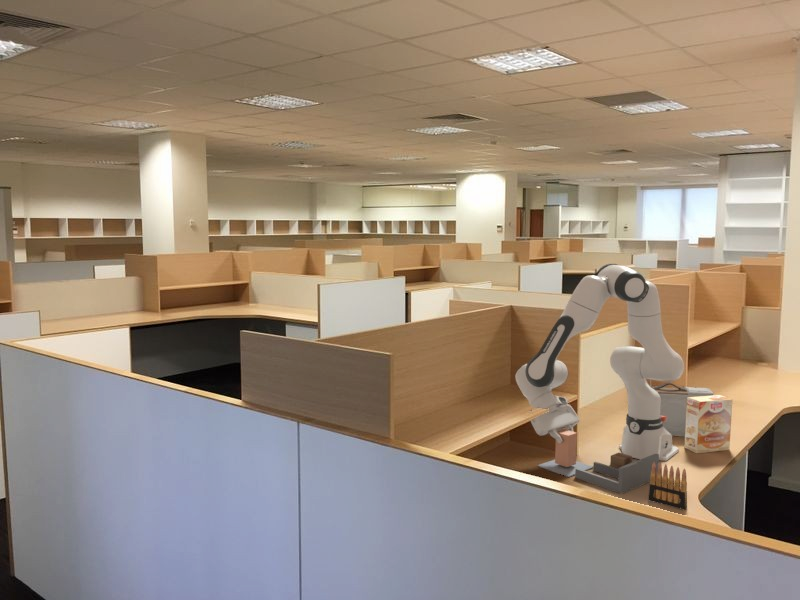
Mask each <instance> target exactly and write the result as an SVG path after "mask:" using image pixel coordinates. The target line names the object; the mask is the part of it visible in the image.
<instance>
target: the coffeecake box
mask: <svg viewBox="0 0 800 600" xmlns="http://www.w3.org/2000/svg"><path fill="white" fill-rule="evenodd" d="M732 412H733V398H730V397H728V396H724V395H722V394H713V395H712V396H699V397H687V411H686V429H685V436H684V448H685V449H687V450H689V451H691V452H692V453H695V454H703V453H711V452H712V453H713V452H714V453H715V452H719V451H720V452H721V451H730V450H731V449H730V446H731V431H732V414H733V413H732Z"/></svg>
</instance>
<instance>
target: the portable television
mask: <svg viewBox="0 0 800 600" xmlns="http://www.w3.org/2000/svg"><path fill="white" fill-rule="evenodd" d="M649 380H650V381H649V383H650V384H649V386H650V387H651V388H653V389H654V390H655V391H657V392H658V394H659V395H660V397H661V410H660V416H661V415H662V416H666V418H667V419H666V421H665V422H664V421H662V424H663V427H664V428H665V429H666V430H667V431H668V432H669V433H670V434H671V435H672V437H674V436H675V437H685V429H686V411H687V397H699V396H712V395H714V392H713V391H712V390H711V389H710V388H709V387H696V386H693V387H692V386H691V387H690V386H684V385H682V387H681V386H678V385H676V384H674V383H673V382H671V381H666V382H665V383H663V384H661V385H657V386H656V385H655V386H652V380H651V379H649ZM667 386H673V387H667Z"/></svg>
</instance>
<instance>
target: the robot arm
mask: <svg viewBox="0 0 800 600" xmlns="http://www.w3.org/2000/svg"><path fill="white" fill-rule="evenodd" d="M611 297H612V298H616V299H619V300H621V301H623V302H624V301H625V302H626V305H627V308H626V309H627V310H626V312H627V314H626V315H627V329H628V334H629V335H630V337H632V339H633V340H635V341H637V342H638V343H639V344H641V346H642V347H639V346H631V345H628V346H627V345H625V346H617V347H615V349H613V350H612V352H611V354H610V358H609V359H610V360H609V363H610V366H611V368H612V370H613V372H615V373H616V374H617V375H618V376H619V378H620V379H621V381H622V382H623V384H624V387H625V389H626V393H627V413H626V417H625V421H626V422H625V423H626V425H625V426H624V427H623V432H622V439H621V444H619V445H618V448H619V449H620V450H621V453H623V454H626V455H630V456H632V459H636V460H637V459H638V460H640V459H643V458H645V457H648V456H650V455H653V454H659V461H662V462H663V461H668V460H669V459H671V458H672V457H673V456H674V455H676V454H677V453H678V452H680V449H679V447H678V446H675V445H673V436H672V435H671V434H670V433H669V432H668V431H667V430H666V429H665V428H664V427H663V424H662V421H664V422H665V421H666V419H667V418H666V416H662V415H661V416H660V410H661V397H660V395H659V394H658V392H657V391H655V390H654V389H653V388H651V387H650V384H649V382H648V381H647V380H650V379H651V381H653V380H654V381H658V382H659V381H660V382H675V381H677V380H679V379H680V378H681V376H682V375H683V374H684V370H685V364H684V360H683V357H682V356H681V355H680V353H677V352H676V351H675V350H674V349H673V348H672V347H671V346H670V344H669V343H668V341H667V339H666V338H665V335H664V331H663V327H662V326H663V325H662V314H661V313H662V311H661V301H660V300H661V299H660V296H659V290H658V288H657V285H656V284H654V283H653V282H651V281H649V280H646V279H645V277H644V276H643V275H642V274H641V273H640V272H639V271H637V270H635V269H632V268H630V267H628V266H625V265H619V264H617V263H608V264H605V265H602V266H601V267H599V269H598V270H597V271H596V272H595V273H593V274H592V275H591V274H590V275H589V274H588V275H586V276H584V277H583V278H582V279H581V280H580V281H579V283H578V284H577V285H576V287H575V289H574V290H573V292H572V294H571V296H570V298H569V299H568V302H567V304H566V305H565V307H564V310H563V311H562V313H561V315H560V317H558V319H557V320H556V322H555V324H554V325H553V327H552V328H551V330H550V332H549V333H548V335H547V337H546V339H545V340H544V342H543V344H542V345H541V347H540V349H539V351H538V352H537V353H536V354H535V355H534V356H533V357H532V358H531V359H530V360H529V361H528V362H527V363H525V364H523V365H521V367H519V368H518V369H517V371H516V373H515V376H514V377H515V382H516V384H517V386H518V387H519V389H520V392H521V393H522V395H523V396H524V397H525V398H526V399H527V401H528V403H529V406H530V405H531V406H532V407H535V408H542V409H548V408H549V412H547V413H544V414H542V415H540V416H538V417H536V418H534V419H532V420H530V423H531V425H532V427H533V429H534V432H535V433H536V434H537V435H539V436H540V437H541V436H546V435H548V434H549V435H550V437H552V438H554V439H555V441H556V440H557V441H558V443H562V442H563V441H564V439H563V437H562V436H560V435H559V434H557V433H556V432H558V431H561V430H569V431H572V432H575V431H574V427H575V426H576V425H577V424H579V423H580V418H579V415H578V414H577V413H576V411H575V410H574V408H573V407H572V406H571V404H570V403H569V400H568V399H567V398H566V397H564V396H558V395H555V394H553V392H552V390H553V389H556V388H558V387H559V386H562V385H564V384H565V383H566V382H567V379H568V377H569V370H568V367H567V365H566V363H564V362H563V361H561V360H558V357H559V356H560V353H561V352H562V350H563V349H564V347H565V345H566V343H567V342H568V341H569V340H570V339H571V338H573V337H574V336H576V335H578V334H580V333H583V332H586V331H588V330H589V329H590V328H592V326H594V324H595V322H596V320H597V319H598V317H599V315H600V313H601V311H602V309H603V306H604V304H605V303H606V301H608V300H609V298H611ZM568 403H569V404H568ZM531 406H530V407H531ZM532 407H531V408H532ZM532 410H533V409H530V410H529V411H532Z"/></svg>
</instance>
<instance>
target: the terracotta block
mask: <svg viewBox="0 0 800 600" xmlns="http://www.w3.org/2000/svg"><path fill="white" fill-rule="evenodd" d="M556 433H557V434H559V435H560V436H562V437H563V439H564V441H563V442H562V443H558V441H557V440H556V439H555V451H554V454H555V455H554V456H555V457H554V460H555V463H556V464H559V465H562V466H565V467H569V466H572V465H575V464H576V461H577V444H578V443H577V442H578V432H576V431H574V432H572V431H569V430H566V429H562V430H559V431H557V432H556Z"/></svg>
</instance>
